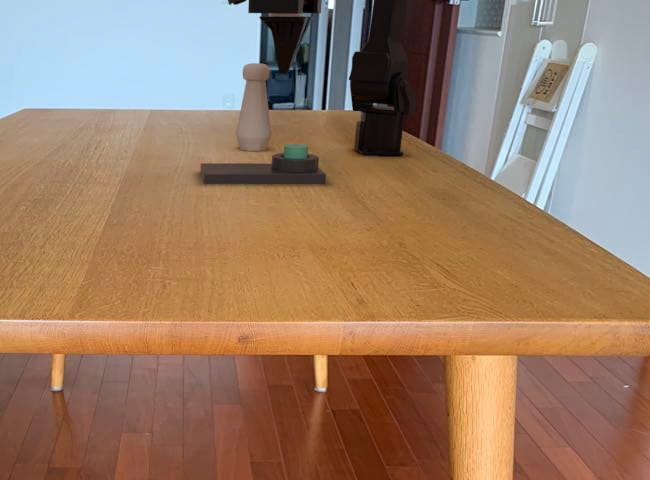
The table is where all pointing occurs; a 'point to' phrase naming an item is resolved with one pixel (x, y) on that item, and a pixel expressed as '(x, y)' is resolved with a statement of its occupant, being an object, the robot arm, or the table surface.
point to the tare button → (295, 151)
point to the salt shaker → (254, 109)
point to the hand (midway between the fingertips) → (283, 73)
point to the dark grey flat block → (265, 172)
